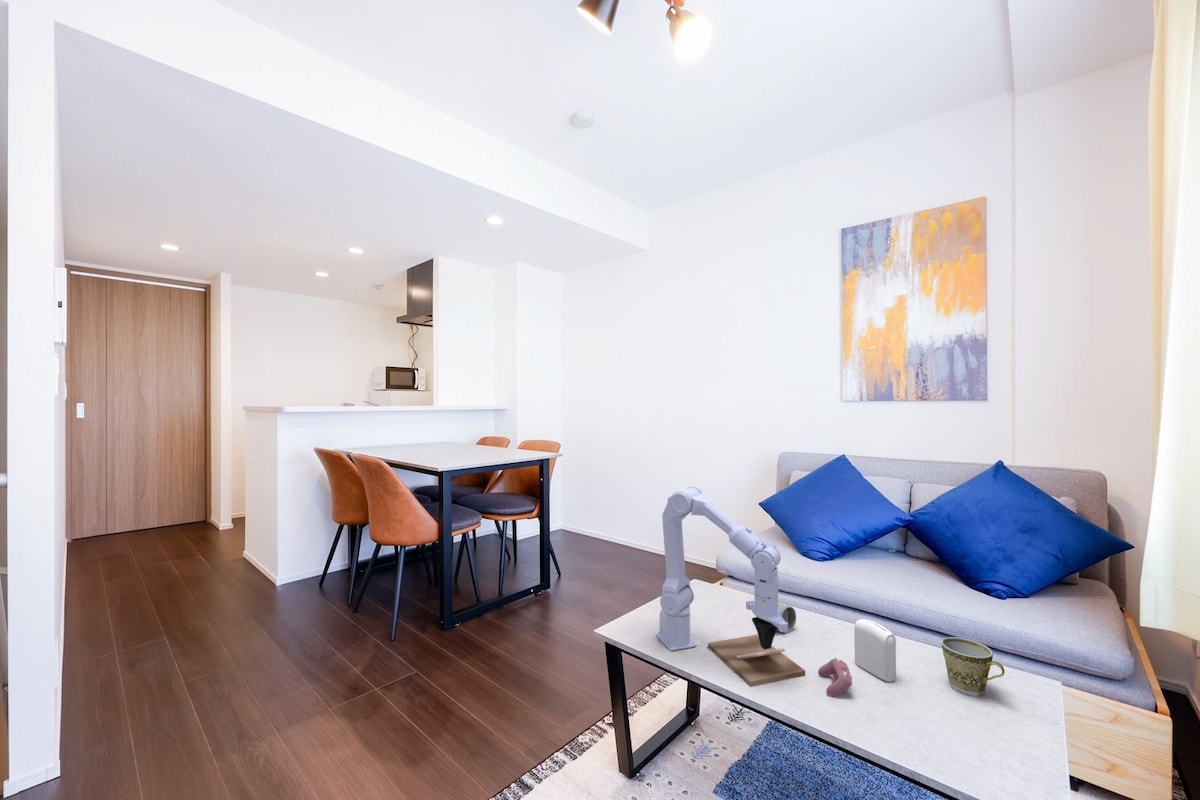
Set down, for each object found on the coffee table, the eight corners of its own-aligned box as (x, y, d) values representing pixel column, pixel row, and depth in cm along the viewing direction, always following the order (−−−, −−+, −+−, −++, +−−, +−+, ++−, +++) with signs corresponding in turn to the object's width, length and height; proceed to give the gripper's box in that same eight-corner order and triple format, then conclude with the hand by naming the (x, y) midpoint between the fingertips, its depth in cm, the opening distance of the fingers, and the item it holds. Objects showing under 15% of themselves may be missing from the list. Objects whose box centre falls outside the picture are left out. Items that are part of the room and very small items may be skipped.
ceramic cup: (931, 682, 123) (931, 641, 123) (957, 673, 127) (958, 633, 127) (990, 712, 111) (990, 667, 111) (1017, 701, 115) (1017, 658, 115)
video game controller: (844, 705, 116) (859, 680, 116) (825, 694, 117) (839, 669, 117) (833, 681, 126) (846, 658, 126) (815, 672, 127) (829, 648, 126)
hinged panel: (753, 653, 125) (754, 657, 125) (787, 647, 128) (788, 650, 128) (736, 655, 132) (737, 659, 132) (769, 649, 135) (769, 653, 135)
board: (707, 647, 140) (707, 642, 140) (756, 638, 145) (756, 634, 145) (750, 686, 121) (750, 681, 121) (805, 675, 126) (805, 670, 126)
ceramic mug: (774, 619, 158) (773, 595, 158) (797, 629, 151) (796, 604, 151) (751, 628, 152) (751, 603, 152) (774, 639, 145) (774, 613, 145)
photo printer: (851, 663, 132) (851, 616, 132) (864, 660, 134) (864, 613, 133) (886, 684, 122) (886, 633, 122) (899, 680, 124) (899, 630, 124)
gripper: (798, 603, 123) (798, 659, 123) (761, 582, 136) (761, 632, 137) (774, 607, 120) (774, 663, 121) (739, 585, 134) (739, 636, 134)
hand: (766, 647), depth 128 cm, fingers closed
